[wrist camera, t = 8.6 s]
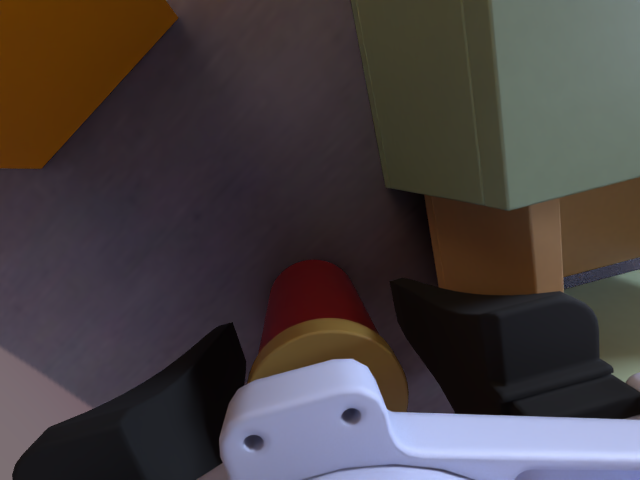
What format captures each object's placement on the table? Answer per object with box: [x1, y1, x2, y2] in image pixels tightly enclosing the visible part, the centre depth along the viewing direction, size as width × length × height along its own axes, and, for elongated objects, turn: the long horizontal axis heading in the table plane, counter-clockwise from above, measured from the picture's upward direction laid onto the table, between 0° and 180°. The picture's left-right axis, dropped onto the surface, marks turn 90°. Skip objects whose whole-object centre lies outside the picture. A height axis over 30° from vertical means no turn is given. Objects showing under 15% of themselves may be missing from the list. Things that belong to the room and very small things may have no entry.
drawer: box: [424, 177, 640, 383], centre depth 12 cm, size 16×12×7 cm
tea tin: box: [247, 260, 409, 412], centre depth 12 cm, size 5×5×7 cm
